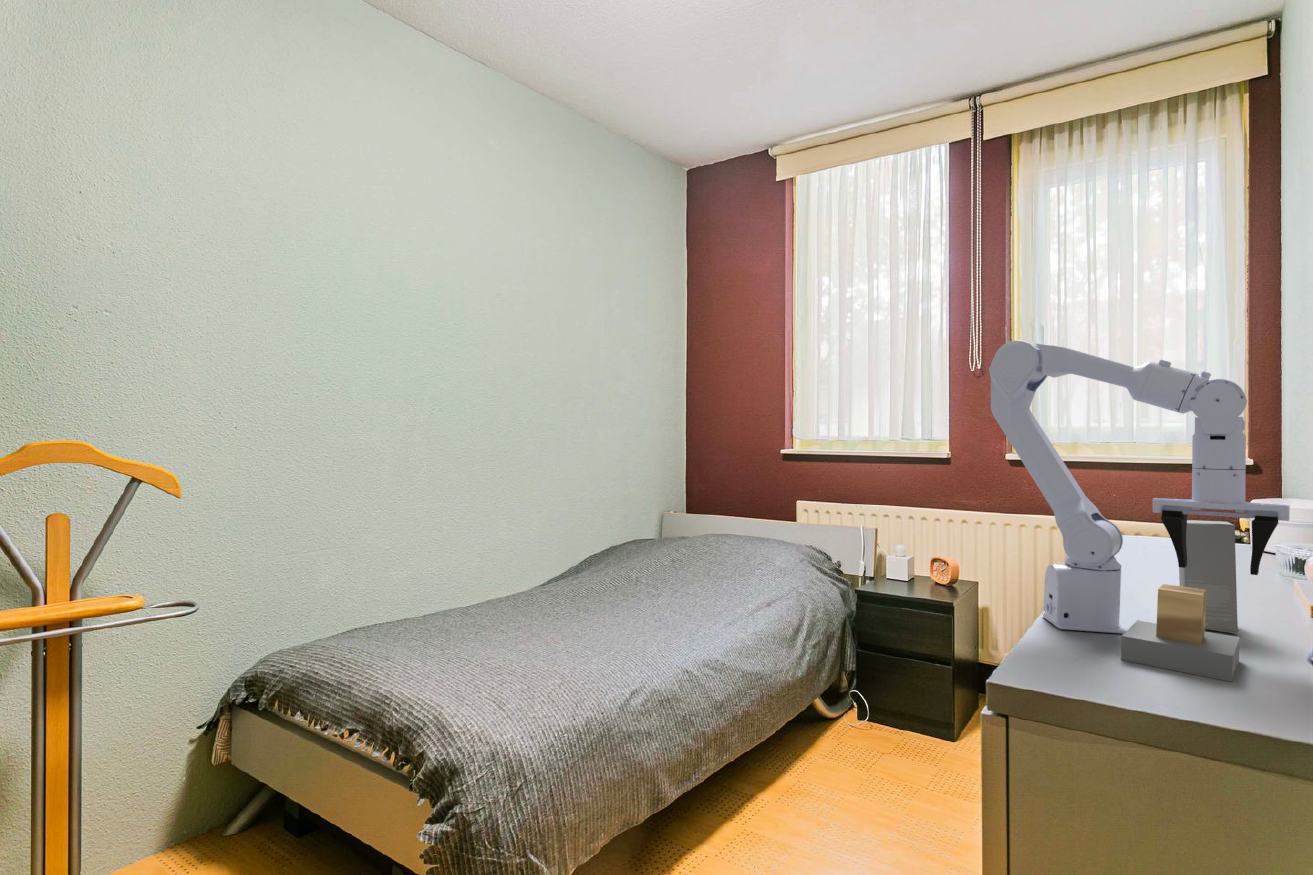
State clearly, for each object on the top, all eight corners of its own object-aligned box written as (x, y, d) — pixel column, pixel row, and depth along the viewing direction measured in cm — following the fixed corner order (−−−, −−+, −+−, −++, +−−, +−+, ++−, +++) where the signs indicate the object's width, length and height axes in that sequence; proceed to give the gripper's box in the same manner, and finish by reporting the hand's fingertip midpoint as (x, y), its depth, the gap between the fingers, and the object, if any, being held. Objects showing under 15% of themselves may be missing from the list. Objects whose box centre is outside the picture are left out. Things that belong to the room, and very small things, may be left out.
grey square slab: (1231, 681, 85) (1232, 655, 85) (1120, 659, 92) (1121, 635, 92) (1238, 660, 93) (1239, 637, 93) (1136, 642, 100) (1137, 620, 100)
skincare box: (1238, 635, 105) (1243, 525, 105) (1177, 627, 109) (1181, 521, 109) (1230, 623, 113) (1234, 520, 112) (1173, 615, 116) (1177, 516, 116)
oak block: (1200, 644, 89) (1202, 595, 89) (1156, 636, 92) (1158, 588, 92) (1204, 637, 93) (1206, 589, 93) (1161, 629, 96) (1163, 583, 96)
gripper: (1148, 468, 101) (1148, 567, 101) (1288, 471, 91) (1287, 581, 91) (1157, 466, 106) (1157, 560, 106) (1290, 470, 96) (1289, 574, 96)
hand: (1217, 570), depth 99 cm, fingers open, 7 cm apart
